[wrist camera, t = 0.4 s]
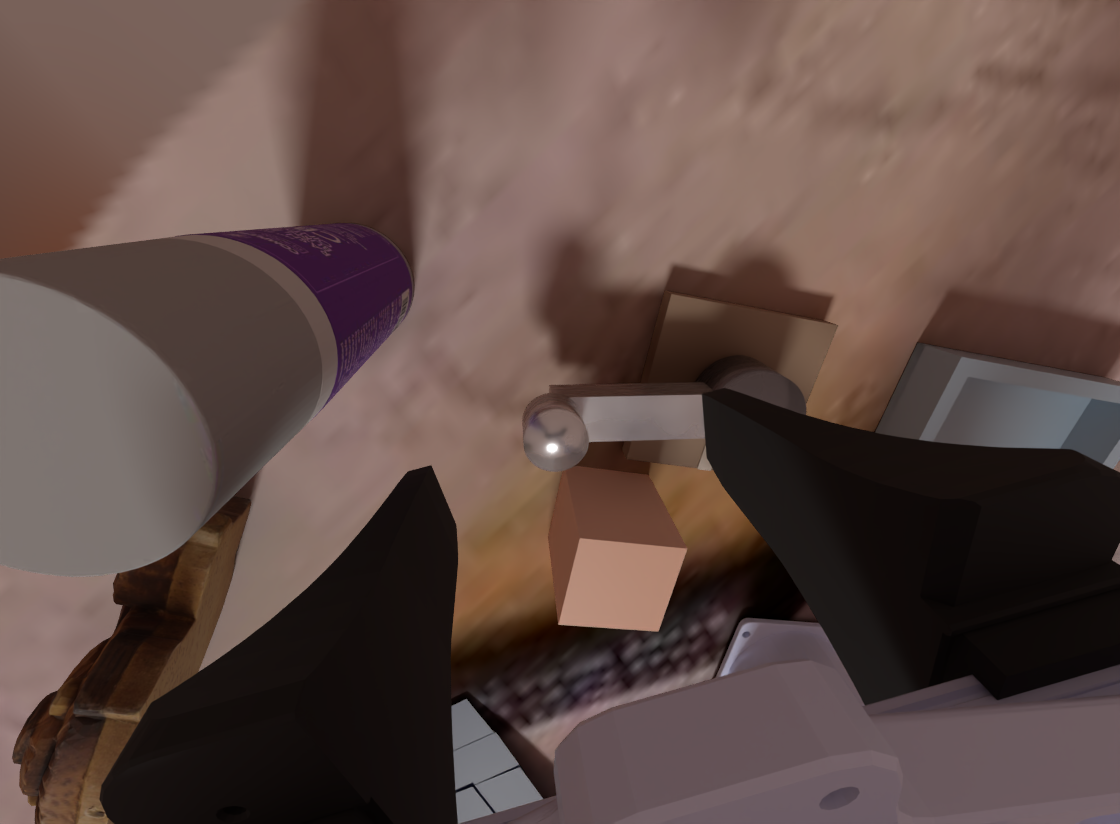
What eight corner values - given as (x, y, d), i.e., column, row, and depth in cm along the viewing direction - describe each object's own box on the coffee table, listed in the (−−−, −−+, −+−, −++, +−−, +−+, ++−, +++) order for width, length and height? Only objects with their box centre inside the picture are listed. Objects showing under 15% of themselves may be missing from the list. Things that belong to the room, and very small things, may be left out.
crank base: (766, 468, 26) (776, 479, 25) (622, 449, 24) (627, 460, 23) (824, 320, 23) (839, 325, 22) (664, 290, 21) (672, 294, 20)
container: (386, 206, 19) (75, 198, 5) (431, 319, 21) (290, 529, 7) (274, 243, 19) (-320, 328, 5) (329, 352, 21) (-4, 622, 7)
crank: (780, 354, 22) (839, 386, 18) (764, 434, 23) (815, 479, 19) (520, 357, 21) (522, 392, 17) (521, 441, 22) (524, 491, 18)
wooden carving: (175, 438, 22) (-63, 603, 13) (282, 466, 23) (132, 638, 14) (143, 686, 27) (-40, 927, 18) (231, 699, 28) (99, 934, 19)
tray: (992, 554, 30) (1033, 583, 27) (825, 536, 28) (853, 565, 26) (1105, 377, 25) (1165, 394, 23) (917, 342, 24) (961, 356, 21)
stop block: (627, 544, 27) (658, 631, 21) (548, 536, 26) (558, 624, 21) (648, 474, 25) (687, 548, 20) (563, 463, 24) (579, 538, 19)
